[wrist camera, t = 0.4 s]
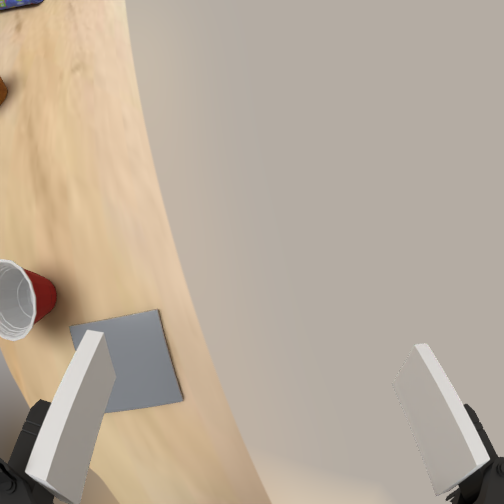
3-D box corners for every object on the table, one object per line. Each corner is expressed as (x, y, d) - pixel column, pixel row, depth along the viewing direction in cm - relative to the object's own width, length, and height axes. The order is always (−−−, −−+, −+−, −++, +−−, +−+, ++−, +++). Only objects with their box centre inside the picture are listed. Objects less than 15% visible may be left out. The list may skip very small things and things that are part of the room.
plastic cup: (9, 300, 40) (-32, 304, 28) (37, 249, 41) (-1, 242, 30) (50, 342, 41) (15, 358, 29) (81, 291, 42) (48, 295, 31)
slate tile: (183, 398, 44) (182, 401, 43) (99, 410, 41) (97, 413, 40) (157, 308, 45) (157, 309, 43) (71, 325, 42) (69, 326, 40)
